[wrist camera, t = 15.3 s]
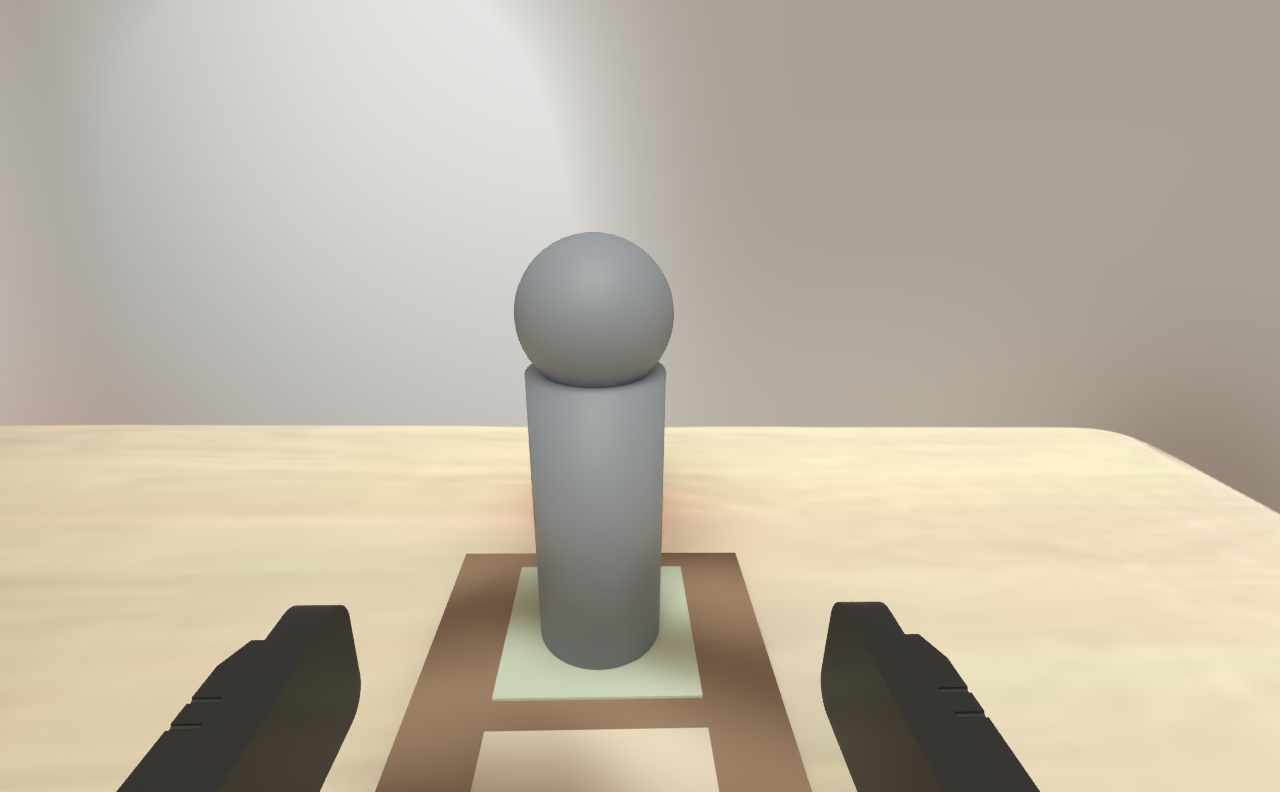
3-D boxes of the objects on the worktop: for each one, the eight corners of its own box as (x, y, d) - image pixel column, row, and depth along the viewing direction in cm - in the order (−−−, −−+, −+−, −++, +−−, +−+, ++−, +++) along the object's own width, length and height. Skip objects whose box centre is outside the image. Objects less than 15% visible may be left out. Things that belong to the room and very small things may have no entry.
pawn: (516, 608, 23) (485, 229, 18) (623, 568, 25) (622, 222, 20) (570, 696, 19) (550, 246, 14) (690, 639, 22) (710, 236, 16)
